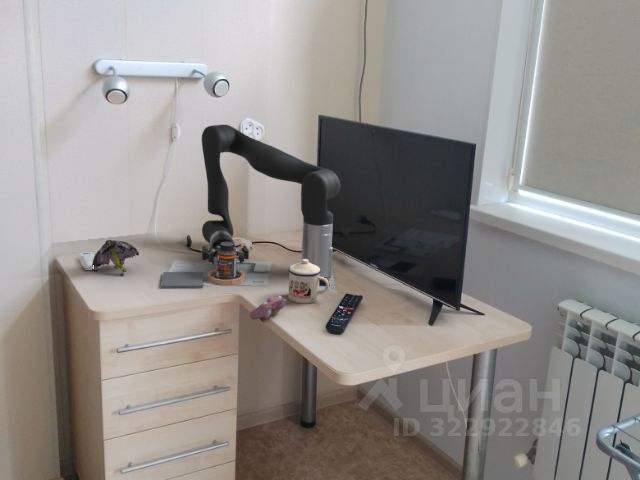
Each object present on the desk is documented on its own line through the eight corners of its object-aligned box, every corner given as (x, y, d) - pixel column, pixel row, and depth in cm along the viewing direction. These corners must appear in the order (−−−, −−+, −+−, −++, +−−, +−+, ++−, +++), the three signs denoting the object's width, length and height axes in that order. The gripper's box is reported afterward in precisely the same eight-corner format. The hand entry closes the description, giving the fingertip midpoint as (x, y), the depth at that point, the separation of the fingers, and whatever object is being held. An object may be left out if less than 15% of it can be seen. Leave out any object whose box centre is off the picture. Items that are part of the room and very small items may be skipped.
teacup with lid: (282, 300, 194) (284, 261, 191) (294, 290, 202) (296, 253, 199) (322, 308, 190) (324, 268, 187) (332, 297, 198) (335, 259, 195)
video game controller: (258, 328, 179) (268, 309, 176) (247, 316, 181) (256, 297, 177) (282, 317, 187) (292, 298, 183) (271, 306, 188) (281, 287, 185)
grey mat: (203, 274, 212) (203, 271, 211) (202, 288, 200) (202, 285, 200) (163, 274, 210) (163, 271, 210) (160, 288, 198) (160, 285, 198)
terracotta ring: (243, 272, 215) (243, 268, 215) (245, 285, 205) (245, 280, 204) (208, 272, 213) (208, 268, 213) (207, 285, 203) (207, 280, 202)
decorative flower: (129, 232, 217) (132, 232, 203) (142, 267, 218) (146, 268, 204) (83, 248, 212) (83, 248, 198) (96, 283, 214) (97, 286, 200)
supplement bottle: (215, 281, 206) (215, 246, 203) (217, 275, 212) (217, 240, 208) (235, 282, 206) (236, 246, 203) (236, 275, 212) (237, 240, 209)
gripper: (199, 233, 218) (203, 249, 203) (244, 233, 221) (251, 248, 206) (199, 256, 220) (203, 273, 205) (244, 255, 223) (250, 271, 208)
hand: (227, 260), depth 205 cm, fingers open, 8 cm apart
